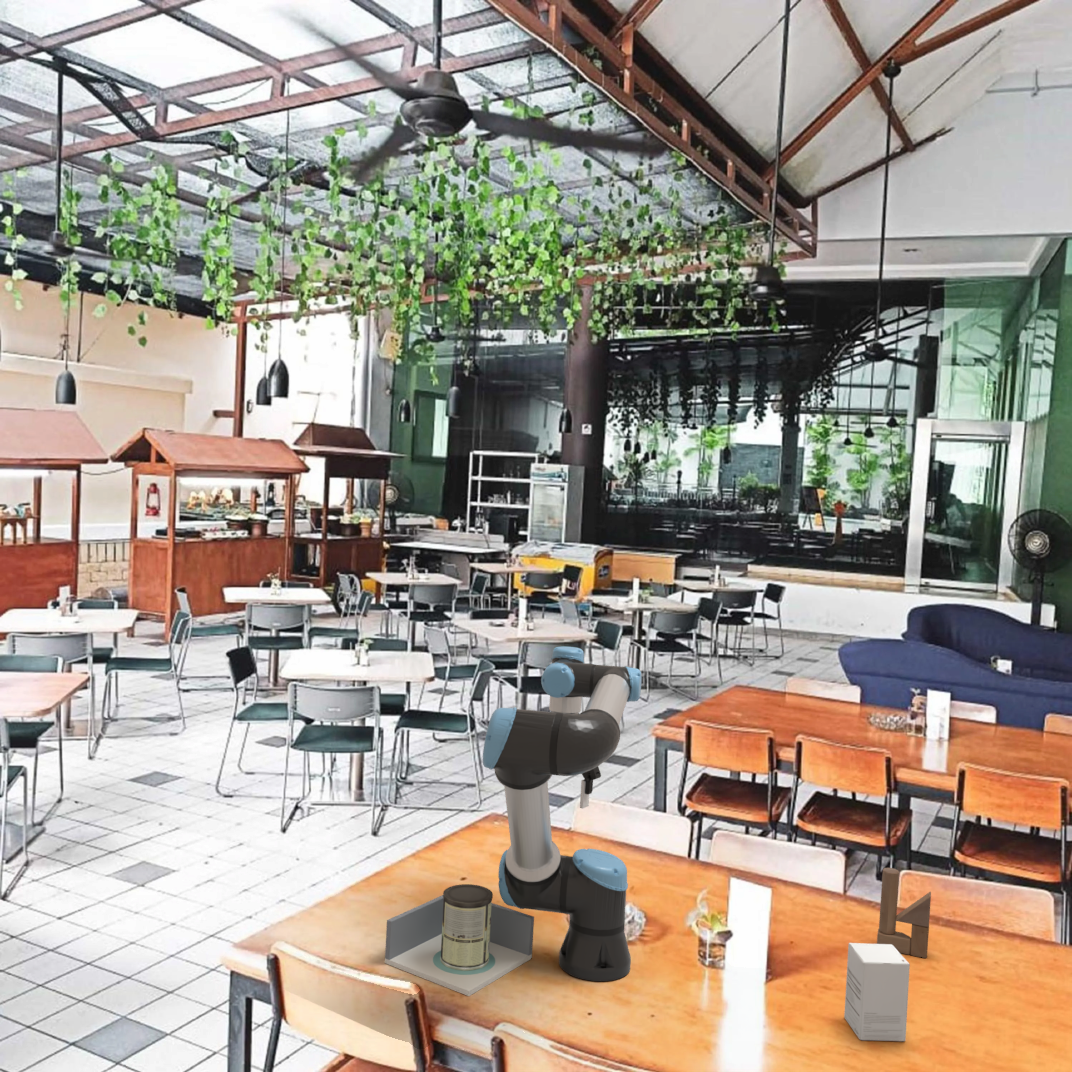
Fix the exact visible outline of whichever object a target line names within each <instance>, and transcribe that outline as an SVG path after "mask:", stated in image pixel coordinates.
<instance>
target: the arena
mask: <svg viewBox="0 0 1072 1072" xmlns="http://www.w3.org/2000/svg"><path fill="white" fill-rule="evenodd" d="M443 900H444V898H443V894H442V895H440V896H437V897H436V898H432V899H430V900H429V901H425V902H424V903H421V904H420V905H418V906H415V907H413V908H410V909H408V910H406V911H404V912H402V913H399V914H398V915H395V916H393V917H391V918H389V919H386V930H385V931H386V932H385V951H384V952H385V953H384V964H386V965H389V966H391V967H394V968H395V969H399V970H401V971H404V972H406V973H409V974H412V975H414V976H417V977H418V978H419V977H420V979H424V980H426V981H428V982H432V983H434V984H436V985H439V986H441V987H444V988H446V989H449V990H452V991H455V992H456V993H457V992H458V993H460V994H463V995H464V996H467V997H470V996H472V995H473V994H475V993H477V992H478V991H480V990H482V989H483V988H486V987H487V986H488V985H490V984H492V983H493V982H495V981H496V980H498V979H500V978H501V977H503V976H505V975H507V974H509V973H510V972H512V971H513V970H515V969H516V968H518V967H520V966H521V965H523V964H525V963H526V962H528V961H530V960H532V959H533V942H534V925H535V916H533V915H530V914H527V913H525V912H521V911H519V910H514V909H511V908H509V907H505V906H502V905H500V904H496V903H493V902H492V905H491V924H490V944H489V962H488V964H487V965H486V966H484V967H482V968H480V969H476V970H469V971H461V970H455V969H451V968H448V967H446V966H445V965H443V964H442V963H441V960H440V957H441V941H442V921H443ZM531 958H532V959H531Z"/></svg>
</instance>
